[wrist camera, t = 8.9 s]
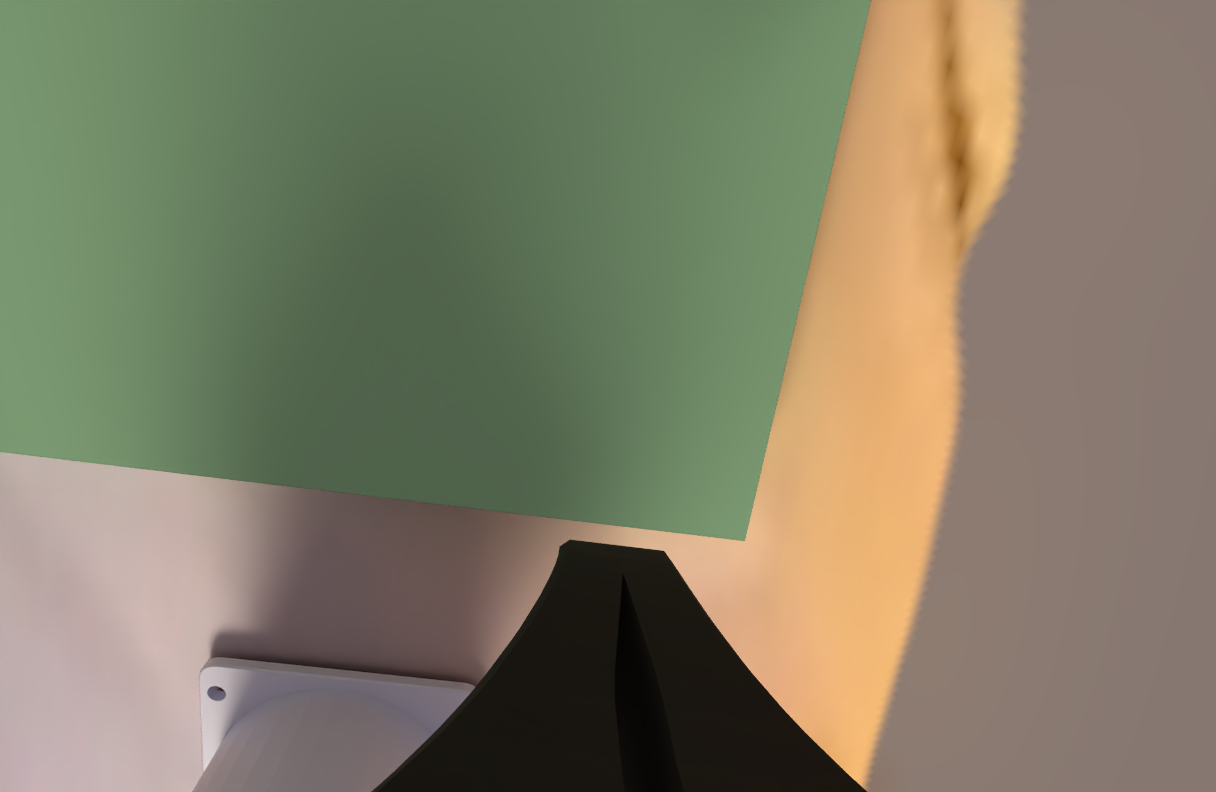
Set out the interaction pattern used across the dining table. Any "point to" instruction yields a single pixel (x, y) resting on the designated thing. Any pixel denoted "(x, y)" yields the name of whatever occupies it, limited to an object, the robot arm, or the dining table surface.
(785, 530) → the dining table surface
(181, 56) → the green mini golf board
